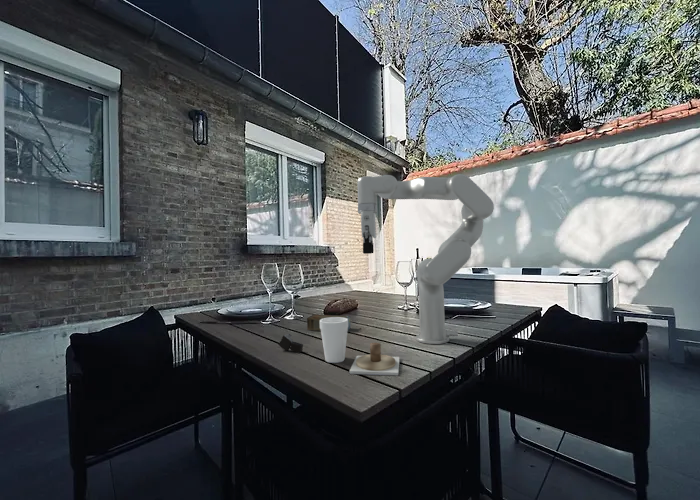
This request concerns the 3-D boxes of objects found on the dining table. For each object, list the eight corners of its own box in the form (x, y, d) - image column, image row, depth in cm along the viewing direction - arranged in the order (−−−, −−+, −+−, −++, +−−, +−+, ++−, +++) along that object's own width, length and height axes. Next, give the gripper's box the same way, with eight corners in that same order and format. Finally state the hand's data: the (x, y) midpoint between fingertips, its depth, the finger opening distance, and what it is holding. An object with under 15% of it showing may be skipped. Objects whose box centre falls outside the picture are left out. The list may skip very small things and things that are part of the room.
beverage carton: (346, 332, 146) (345, 318, 146) (306, 331, 151) (305, 316, 151) (351, 328, 153) (350, 314, 153) (313, 327, 159) (312, 313, 159)
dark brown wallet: (299, 357, 121) (306, 345, 120) (295, 359, 119) (303, 347, 117) (281, 343, 123) (288, 330, 122) (278, 344, 121) (284, 332, 120)
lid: (396, 357, 107) (395, 339, 107) (394, 371, 95) (394, 350, 95) (359, 356, 109) (358, 338, 109) (353, 369, 97) (352, 349, 97)
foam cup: (350, 355, 114) (349, 317, 114) (347, 364, 104) (346, 322, 105) (323, 355, 115) (322, 317, 115) (317, 364, 105) (316, 323, 105)
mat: (399, 359, 108) (399, 356, 108) (398, 375, 94) (398, 372, 94) (356, 358, 110) (356, 355, 110) (349, 373, 97) (349, 370, 97)
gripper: (375, 206, 120) (376, 253, 120) (378, 211, 137) (379, 253, 137) (355, 206, 121) (356, 253, 121) (360, 212, 138) (361, 253, 138)
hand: (368, 253), depth 129 cm, fingers open, 9 cm apart
